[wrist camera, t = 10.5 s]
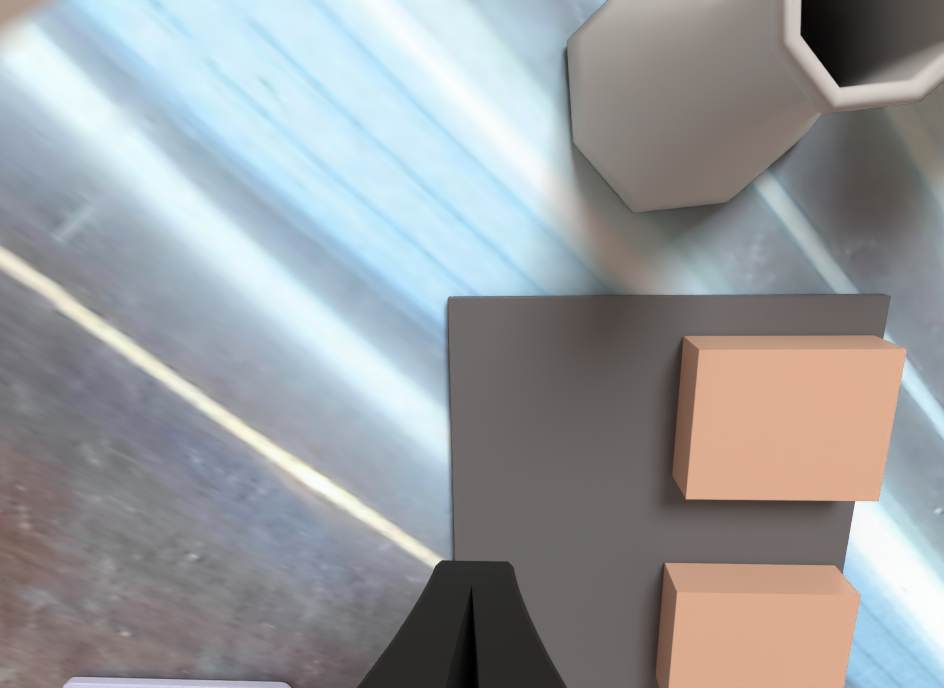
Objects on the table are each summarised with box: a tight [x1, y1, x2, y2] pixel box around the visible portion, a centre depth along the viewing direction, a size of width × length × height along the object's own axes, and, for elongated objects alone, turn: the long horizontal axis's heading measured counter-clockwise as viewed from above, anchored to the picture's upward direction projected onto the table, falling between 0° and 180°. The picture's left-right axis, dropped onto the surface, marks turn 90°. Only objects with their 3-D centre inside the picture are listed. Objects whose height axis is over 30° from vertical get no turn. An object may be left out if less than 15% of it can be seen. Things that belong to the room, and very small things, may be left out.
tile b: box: [672, 335, 907, 501], centre depth 19 cm, size 2×5×6 cm
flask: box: [567, 0, 944, 213], centre depth 13 cm, size 7×7×10 cm
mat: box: [448, 294, 890, 688], centre depth 22 cm, size 14×16×1 cm
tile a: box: [656, 563, 861, 688], centre depth 22 cm, size 2×5×6 cm
